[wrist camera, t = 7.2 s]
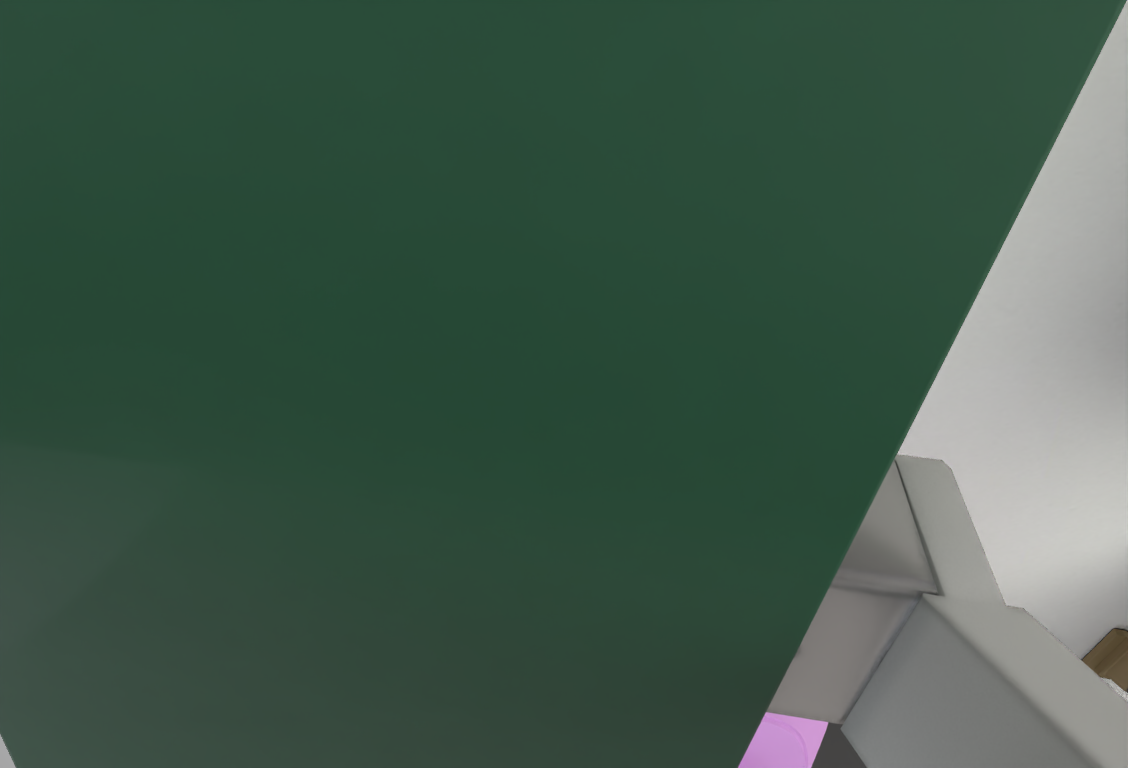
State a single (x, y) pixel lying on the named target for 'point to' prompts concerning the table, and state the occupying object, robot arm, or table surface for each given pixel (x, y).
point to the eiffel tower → (1111, 658)
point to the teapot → (784, 742)
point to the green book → (473, 357)
